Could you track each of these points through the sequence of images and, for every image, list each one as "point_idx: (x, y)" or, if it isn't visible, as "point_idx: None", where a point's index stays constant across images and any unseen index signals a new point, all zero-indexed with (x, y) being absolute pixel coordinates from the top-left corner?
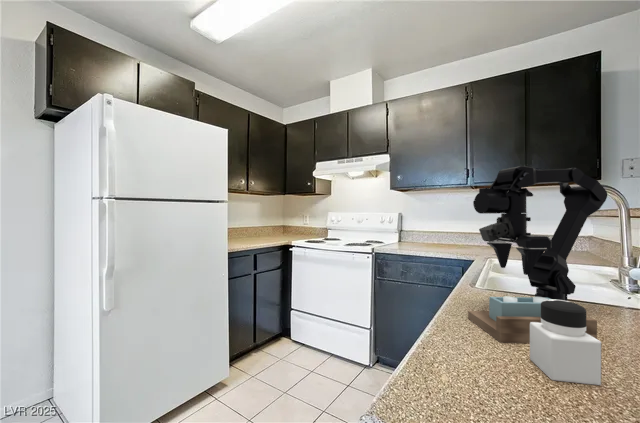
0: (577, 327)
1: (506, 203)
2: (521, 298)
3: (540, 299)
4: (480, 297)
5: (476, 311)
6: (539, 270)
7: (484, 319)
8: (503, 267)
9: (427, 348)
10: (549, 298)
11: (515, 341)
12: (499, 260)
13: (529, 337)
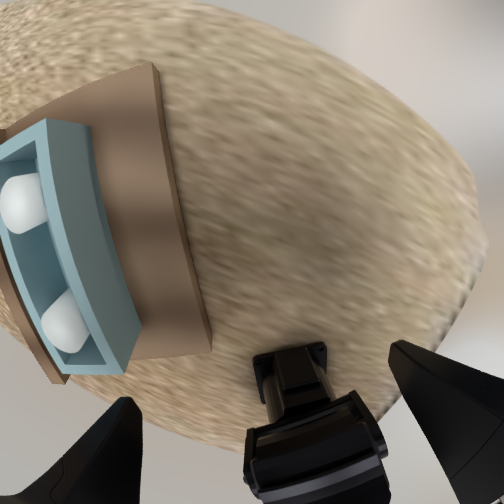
0: None
1: None
2: (63, 267)
3: (43, 322)
4: (427, 220)
5: (147, 90)
6: (307, 467)
7: (67, 105)
8: (390, 354)
9: (2, 15)
10: (110, 372)
11: None
12: (434, 366)
13: None
